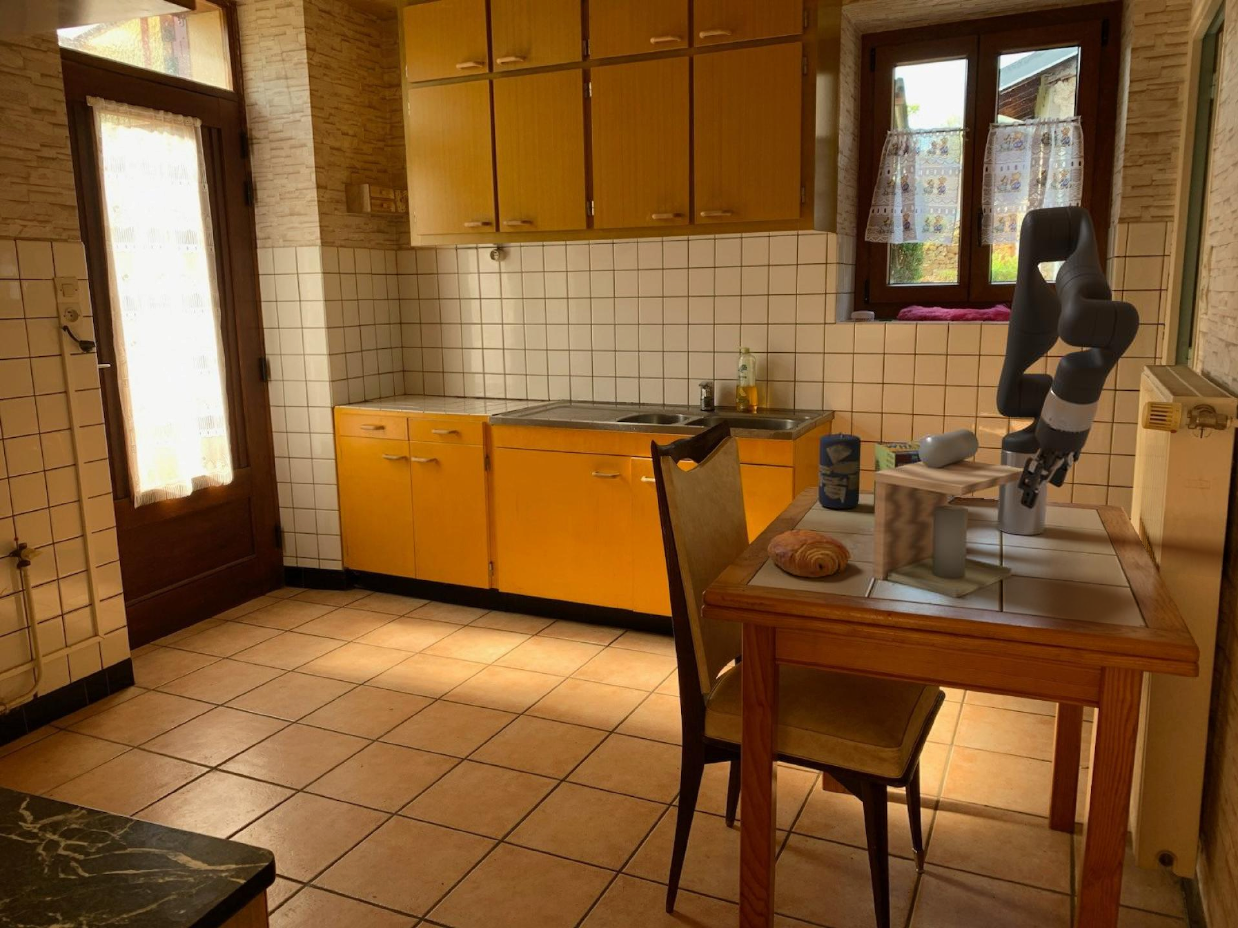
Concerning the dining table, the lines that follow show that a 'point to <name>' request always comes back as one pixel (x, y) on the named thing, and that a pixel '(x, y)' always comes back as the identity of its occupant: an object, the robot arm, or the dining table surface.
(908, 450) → the protein box
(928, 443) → the grey lying cylinder
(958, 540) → the grey rounded cylinder
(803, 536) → the croissant
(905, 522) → the wooden shelf stand
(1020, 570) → the dining table surface
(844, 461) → the canister
